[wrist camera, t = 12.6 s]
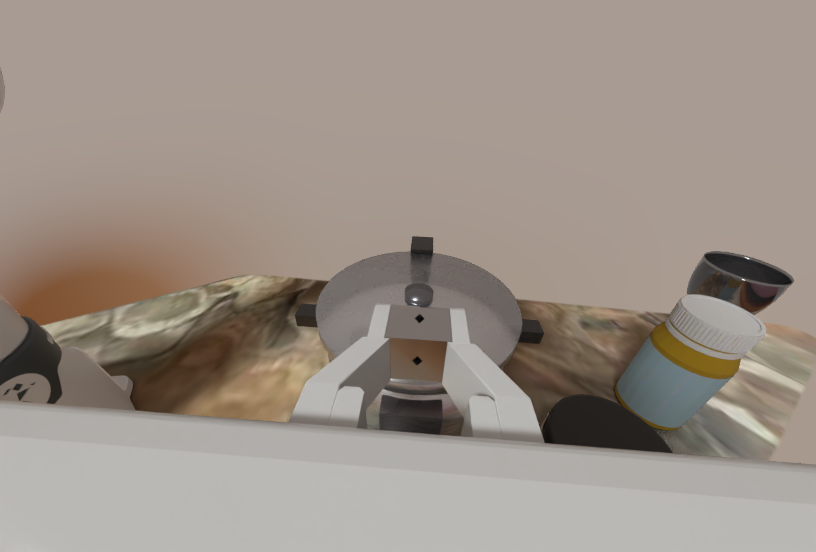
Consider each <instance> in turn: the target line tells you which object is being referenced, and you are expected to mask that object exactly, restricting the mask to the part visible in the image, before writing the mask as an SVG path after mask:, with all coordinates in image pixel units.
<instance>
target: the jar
mask: <svg viewBox="0 0 816 552" xmlns="http://www.w3.org/2000/svg"><path fill="white" fill-rule="evenodd" d="M540 430H541V433H542V436H543V439H544V442H545V443H550V444H563V445H576V446H588V447H601V448H613V449H626V450H638V451H651V452H663V453H673V452H672V451H671V449H670V448H669V446H668V445H667V444H666V442H665V441H664V440H663V439H662V438H661V437H660V435H659V434H658V433H657V432H656V431H655V430H654V429H653V428H652V427H651V426H649V425H648V424H647V423H646V422H645V421H644V420H642V419H641V418H640V417H638V416H637V415H636V414H634V413H633V412H631V411H630V410H628V409H626V408H624V407H623V406H621V405H619V404H617V403H615V402H612V401H610V400H607V399H604V398H601V397H598V396H593V395H583V394H581V395H572V396H568V397H565V398H563V399H562V400H560V401H559V402H558V403H557V404H556V405H555V406H554V407H553V408H552V410H551V411H550V412H549V413H548V414H547V416H546V418H545V420H544V422H543V424H542V426H541V428H540Z"/></svg>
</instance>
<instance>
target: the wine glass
mask: <svg viewBox="0 0 816 552" xmlns="http://www.w3.org/2000/svg"><path fill="white" fill-rule="evenodd" d="M793 282H794V279H793V278H792V276H790V275H789V274H788V273H786V272H785V271H783V270H781V269H780V268H778V267H776V266H773V265H771V264H769V263H765V262H763V261H761V260H758V259H754V258H751V257H747V256H744V255H740V254H734V253H729V252H720V251H713V252H707V253H705V254H704V256H703V257H702V259H701V260H700V262H699V263H698V265H697V267H696V268H695V270H694V271H693V274H692V276H691V278H690V281H689V284H688V288H687V294H688V295H692V294H696V295H705V296H710V297H714V298H717V299H721V300H724V301H726V302H729V303H731V304H734V305H736V306H738V307H740V308H742V309H744V310H746V311H748V312H749V313H751V314H753V315H755V314H757V313H759V312H760V311H762V310H764V309H765V308H767V307H768V306H769V305H771V304H772V303H773V302H775V301H776V300H777V299H778V298H779V297H780V296H781V295H782V294H783V293H784V292H785V291H786V290H787V289H788V288H789V286H791V284H792V283H793Z"/></svg>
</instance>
